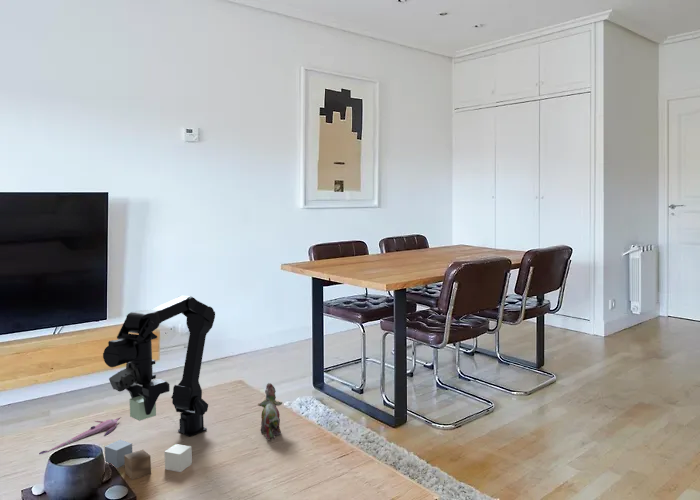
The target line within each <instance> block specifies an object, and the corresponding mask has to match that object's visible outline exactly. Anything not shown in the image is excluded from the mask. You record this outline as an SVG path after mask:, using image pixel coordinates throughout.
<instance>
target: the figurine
mask: <svg viewBox="0 0 700 500" xmlns="http://www.w3.org/2000/svg"><path fill="white" fill-rule="evenodd" d="M264 394H265V399H264V400H263V401H261V402H259V403H257V406H258V407H262V408H263V409H262V412H261V424H260V433H261V434H266V435H265V439H266V440H272V439H276V437H275V436H280V435H281V433H282V430H281V428H280V423H281V422H280V421H281V418H280V417H281V416H280V415H281V414H280V411H279V409H278V407H279V406H281V405H282V404H283V401H277V400H276V388H275V386H274V385H273V384H272V383H271V382H268V383H267V384H266V387H265V390H264ZM277 406H278V407H277Z"/></svg>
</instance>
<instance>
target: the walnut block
mask: <svg viewBox="0 0 700 500" xmlns="http://www.w3.org/2000/svg"><path fill="white" fill-rule="evenodd" d="M124 461H125V465H124V473H125V475H126V476H128V477H129V478H130V480H131V481H133V480H137V479H139V478H140V479H141V478H142V477H145V476H148V475H151V474H152V461H151V455H150V454H149V453H148V452H147V451H145V450H144V449H139V450H137V451H134V452H133V451H132V453H130V454H127V455H124Z"/></svg>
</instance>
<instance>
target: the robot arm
mask: <svg viewBox="0 0 700 500" xmlns="http://www.w3.org/2000/svg"><path fill="white" fill-rule="evenodd" d="M181 314H182V315H184V317H186V327H187V329H188V331H189V335H188V341H187V347H186V348H187V349H186V354H185V359H184V365H183V371H182V378H181V380H180V382H178V384H174V386H173V389H172V390H173V391H172V395H171V397H170V398H171V399H172V402H171V403H172V405H173V406H174V408H175V411H176V413H180V415H179V416H180V418H179V428H178V429H177V432H179V433H182V434H183V435H185V436H188V437H192V436H194V435H197V434H200V433H202V432H206V431H207V430H208V428H207V427H205V425H204V415H205V414H206V413H207V412H208V410H209V408H208V407H209V403H207V402H206V401H205V400H204V399H203V397H202V396H203V389H202V387H201V384H200V382H199V380H200V374H201V369H202V361H203V356H204V355H203V354H204V348H205V345H206V344H205V343H206V339H207V338H206V337H207V335H208V333H209V332H210V331H211V329H212V328H213V325H214V322H215V318H216V311H214V308H213V307H211V306H208V304H207V305H206V304H205V303H203V302H201V301H199V300H197V299H196V298H195V297H193V296H191V295H190V296H189V295H180V296H178V297H177V298H174V299H172V300H170V301H168V302H165V303H162V304H160V305H158V306H156V307H154V308H151V309H143V310H136V311H131V312H129V313H127V314H126V315H125V317H126V318H125V320H124V321H123V323H122V325H121V327H120V330H119V332H118V334H117V336H116V339H115V340H113V339H112V340H108V342H107V344H108V345H107V346H106V347H105V348H104V350H103V353H102V358H103V361H104V363H105V364H106V365H107V366H108V367H109V368H115V367H119V366H122V365H125V364H126V365H125V366H126V367H125V368H124V369H122V370H120V371H118V372H117V373H115V374H113V375H112V376H110V377H109V378H108V381H109V383H110V385H111V387H112V389H113V390H116V391H117V392H119V393H120V392H124V391H125V390H126V391H127V392H128V393H129V395H130V397H131V398H134V397H138V396H142V397H143V400H144V406H145V412H146V415H149V414H151V411H152V409H153V407H154V405H155V403H156V402H157V400H158V399H159V396H160V395H162V394H164V393H168V392H170V383H169V382H167V381H165V380H163V379H160V378H159V379H158V378H157V376H156V374H155V373H154V371H153V365H155V364H156V359H153V349H152V347H153V345H152V342H153V340H155V339H158V335H157V334H155V333H154V331H155V330H157V329H158V328H159V327H160V324H162V323H163V322H165V321H167V320H171V318H174V317H175V316H178V315H181ZM156 378H157V379H156ZM131 398H130V399H131ZM156 404H157V403H156Z"/></svg>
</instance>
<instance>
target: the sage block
mask: <svg viewBox="0 0 700 500" xmlns="http://www.w3.org/2000/svg"><path fill="white" fill-rule="evenodd" d="M156 416H157V403H155V405H154V407H153V409H152V411H151V414H149V415H146V412H145V406H144V400H143V397H142V396H138V397H134V398H129V417H130V418H132V419H134V420H137V421H139V422H140V421H144V420H146V419H149V418H152V417H156Z"/></svg>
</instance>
